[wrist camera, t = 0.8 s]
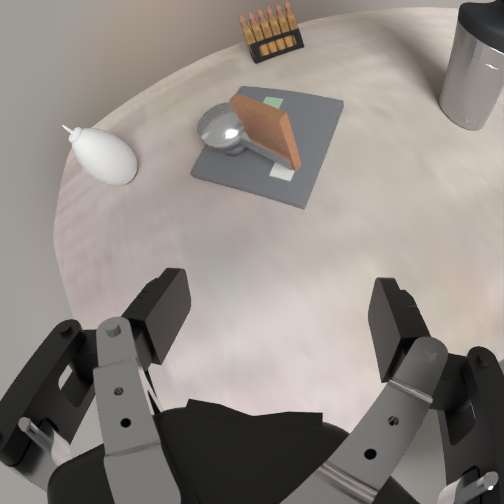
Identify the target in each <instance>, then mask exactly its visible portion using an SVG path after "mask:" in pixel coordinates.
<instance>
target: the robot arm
mask: <svg viewBox="0 0 504 504" xmlns="http://www.w3.org/2000/svg"><path fill="white" fill-rule="evenodd" d="M503 86H504V0H496V1H494V2H490V3H472V2H471V3H469V2H468V3H463V4H462V5H461V6H460V8H459V13H458V20H457V26H456V31H455V37H454V42H453V46H452V51H451V55H450V60H449V64H448V68H447V71H446V75H445V79H444V82H443V86H442V89H441V93H440V96H439V104H440V106H441V108H442V110H443V112H444V113H445V114H446V115H447V116H448V118H450V119H451V120H452V121H453V122H454V123H456V124H457V125H459V126H461V127H463V128H465V129H468V130H479V129H481V128H482V127H483V125H484V124H485V122H486V120H487V118H488V116H489V114H490V113H491V111H492V109H493V107H494V105H495V103H496V101H497V99H498V97H499V95H500V93H501V90H502V88H503ZM190 308H191V296H190V291H189V286H188V280H187V275H186V271H185V270H184V269H180V268H166V269H165V271H164V272H163V273H162V274H161V276H160V277H159V278H155V279H154V280H152V281H151V282H149V283H148V284H146V286H145V287H144V288H143V289H142V291H141V292H140V293H139V294H138V296H137V298H135V299H134V301H133V302H132V303H131V304H130V306H129V307H128V308H127V309H126V311H125V312H124V313H123V315H122V316H121V317H113V318H110V319H107V320H105V321H104V322H102V323H101V324H100V325H99V326H98V328H97V329H95V330H83V329H82V327H81V325H80V323H79V322H78V321H77V320H73V319H70V320H65V321H63V322H61V323H59V324H58V325H57V326H56V327H55V328H54V329H53V330H52V331H51V333H50V334H49V335H48V336H47V338H46V339H45V340H44V341H43V343H42V344H41V345H40V346H39V348H38V349H37V350H36V352H35V353H34V354H33V356H32V357H31V358H30V360H29V361H28V362H27V364H26V365H25V366H24V368H23V369H22V370H21V372H20V373H19V375H18V376H17V377H16V379H15V380H14V382H13V383H12V385H11V386H10V387H9V389H8V391H7V392H6V393H5V395H4V397H3V398H2V399H1V401H0V461H1V462H2V463H3V464H4V465H5V466H7V467H8V468H9V469H11V470H12V471H14V472H15V473H17V474H18V475H20V476H21V477H23V478H25V479H27V480H29V481H30V482H32V483H34V484H35V485H37V486H38V487H40V488H41V489H43V490H44V491H46V492H47V497H48V504H420V503H419V502H417V501H416V500H415V499H414V498H413V497H412V496H411V495H410V494H409V493H408V492H407V491H406V490H405V489H404V488H403V487H402V486H401V485H400V484H399V483H398V482H397V481H396V480H395V479H394V478H393V477H392V476H391V473H392V472H393V471H394V469H395V468H396V466H397V465H398V463H399V461H400V460H401V458H402V457H403V455H404V454H405V452H406V450H407V448H408V447H409V445H410V443H411V442H412V440H413V438H414V436H415V435H416V433H417V431H418V429H419V427H420V425H421V424H422V422H423V420H424V418H425V416H426V414H427V412H428V410H429V409H435V410H437V413H438V418H439V424H440V431H441V437H442V444H443V451H444V459H445V470H446V484H447V486H446V487H445V488H444V489H443V491H442V492H441V494H440V495H439V498H438V501H437V504H504V375H503V373H502V370H501V368H500V366H499V363H498V361H497V359H496V357H495V355H494V354H493V353H492V352H491V351H490V350H488V349H487V348H484V347H480V346H477V347H473V348H472V349H470V350H469V352H468V354H467V356H461V355H455V354H450V353H448V350H447V348H446V346H445V345H444V344H443V343H442V342H441V341H439V340H438V339H436V338H433V337H431V335H430V333H429V331H428V329H427V326H426V324H425V322H424V320H423V317H422V315H421V314H420V311H419V309H418V307H417V305H416V303H415V301H414V298H413V297H412V296H411V295H410V294H409V293H408V292H407V291H406V290H400V289H399V286H398V284H397V282H396V280H395V279H394V278H376V280H375V283H374V288H373V293H372V297H371V301H370V305H369V311H368V322H369V326H370V330H371V335H372V339H373V343H374V348H375V353H376V357H377V362H378V367H379V372H380V378H381V383H385V382H388V383H387V385H386V386H385V388H384V389H383V391H382V392H381V394H380V395H379V396H378V398H377V399H376V401H375V402H374V403H373V405H372V406H371V408H370V409H369V410H368V412H367V413H366V414H365V416H364V417H363V418H362V420H361V421H360V422H359V423H358V425H357V426H356V427H355V428H354V430H353V431H352V432H351V433H350V434H349V433H348V432H346V431H345V430H343V429H341V428H339V427H337V426H335V425H332V424H329V423H326V422H322V418H323V413H313V412H282V413H275V414H267V415H259V416H251V415H248V414H245V413H242V412H239V411H236V410H234V409H231V408H228V407H226V406H223V405H221V404H215V403H209V402H204V401H198V400H193V399H189V400H188V403H187V405H186V407H181V408H174V409H169V410H166V411H164V410H163V408H162V406H161V403H160V400H159V398H158V395H157V392H156V389H155V386H154V383H153V380H152V376H151V373H150V371H149V366H150V364H151V363H154V364H159V365H162V363H163V361H164V359H165V357H166V355H167V353H168V351H169V349H170V347H171V345H172V344H173V342H174V340H175V338H176V336H177V334H178V332H179V330H180V328H181V326H182V325H183V323H184V321H185V319H186V317H187V315H188V313H189V311H190ZM68 364H69V366H70V367H71V369H72V373H71V375H70V376H69V378H68V379H67V381H66V382H65V384H64V386H63V387H62V389H61V390H60V388H59V385H58V382H59V378H60V376H61V375H62V373H63V371H64V370H65V368H66V367H67V365H68ZM95 395H96V402H97V408H98V415H99V421H100V426H101V432H102V437H103V442H104V443H103V444H101V445H99V446H97V447H95V448H93V449H91V450H89V451H87V452H85V453H83V454H81V455H79V456H77V457H75V458H72V456H71V455H70V454H71V450H70V444H71V442H72V440H73V438H74V435H75V433H76V432H77V429H78V427H79V425H80V424H81V421H82V419H83V418H84V416H85V414H86V412H87V410H88V408H89V406H90V404H91V402H92V400H93V399H94V396H95ZM471 403H472V406H473V410H474V414H475V418H474V414H473V410H472V406H471Z"/></svg>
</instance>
